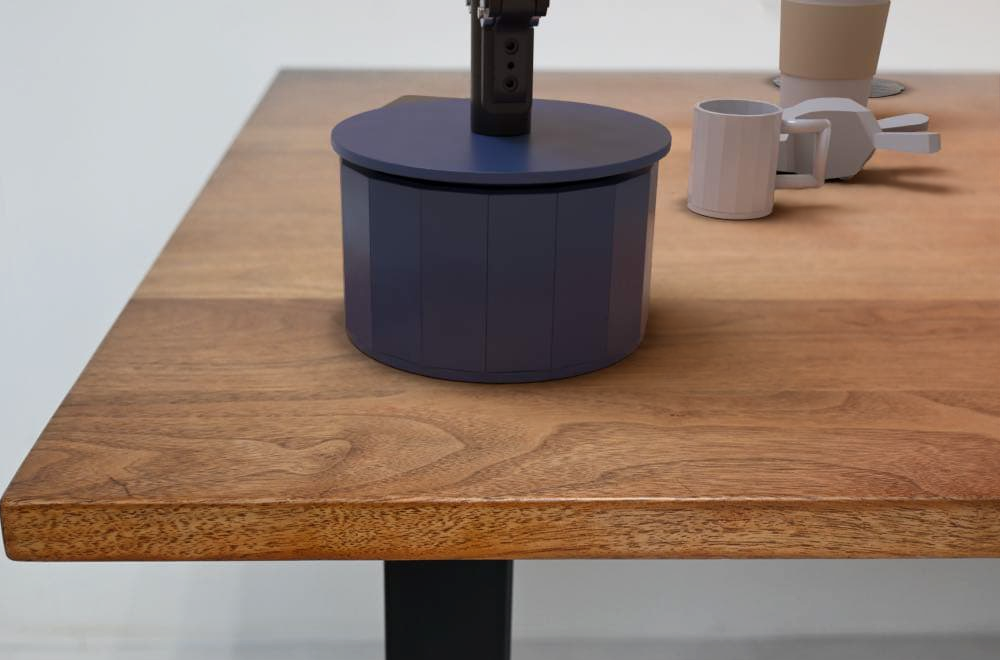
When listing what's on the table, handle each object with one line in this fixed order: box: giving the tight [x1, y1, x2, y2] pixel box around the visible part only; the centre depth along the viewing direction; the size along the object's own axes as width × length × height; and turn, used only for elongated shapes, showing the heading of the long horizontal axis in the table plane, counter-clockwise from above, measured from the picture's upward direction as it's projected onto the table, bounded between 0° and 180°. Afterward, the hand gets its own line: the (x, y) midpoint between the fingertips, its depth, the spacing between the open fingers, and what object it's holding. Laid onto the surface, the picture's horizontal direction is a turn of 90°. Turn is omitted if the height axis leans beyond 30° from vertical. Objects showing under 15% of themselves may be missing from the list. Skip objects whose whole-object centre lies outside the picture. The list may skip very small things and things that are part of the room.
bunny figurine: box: [777, 98, 942, 181], centre depth 88 cm, size 10×5×15 cm
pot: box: [338, 155, 660, 384], centre depth 60 cm, size 15×15×8 cm
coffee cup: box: [778, 0, 892, 109], centre depth 103 cm, size 9×9×15 cm
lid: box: [330, 0, 673, 186], centre depth 57 cm, size 16×16×7 cm
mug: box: [686, 98, 831, 220], centre depth 80 cm, size 9×5×6 cm, turn 97°
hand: (500, 103), depth 57 cm, fingers closed on lid, 3 cm apart
